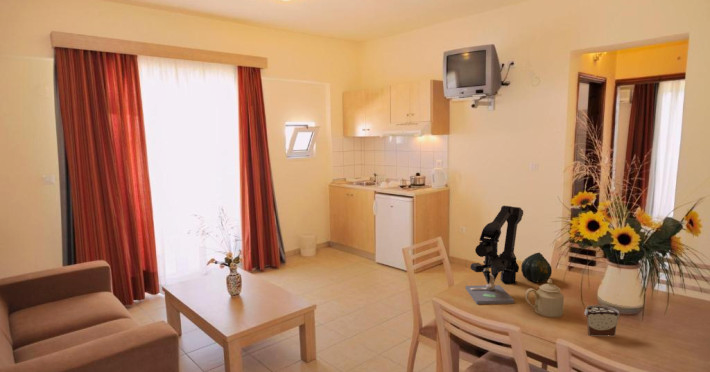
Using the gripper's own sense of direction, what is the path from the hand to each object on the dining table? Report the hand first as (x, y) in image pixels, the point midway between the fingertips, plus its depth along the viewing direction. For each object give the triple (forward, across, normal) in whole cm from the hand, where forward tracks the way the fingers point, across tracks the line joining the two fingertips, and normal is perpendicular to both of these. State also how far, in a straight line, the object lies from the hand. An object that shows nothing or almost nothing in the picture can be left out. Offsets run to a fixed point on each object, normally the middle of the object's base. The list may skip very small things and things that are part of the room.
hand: (490, 283), depth 203 cm
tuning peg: (+3, -4, +1) cm, 5 cm away
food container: (+5, +19, -47) cm, 51 cm away
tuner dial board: (+5, -3, -3) cm, 6 cm away
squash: (+5, +32, +10) cm, 34 cm away
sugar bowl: (+5, +11, -27) cm, 29 cm away
